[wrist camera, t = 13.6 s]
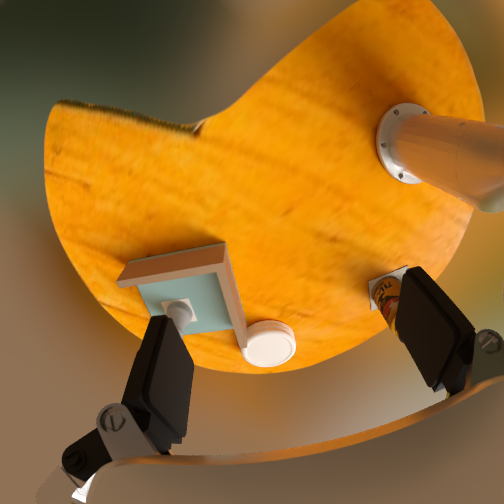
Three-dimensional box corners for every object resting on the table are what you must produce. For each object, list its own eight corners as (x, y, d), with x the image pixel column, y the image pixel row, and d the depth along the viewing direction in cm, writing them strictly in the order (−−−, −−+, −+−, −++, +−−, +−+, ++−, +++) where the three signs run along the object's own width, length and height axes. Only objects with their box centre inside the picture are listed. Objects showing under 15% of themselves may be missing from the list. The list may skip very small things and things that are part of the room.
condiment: (367, 281, 44) (396, 326, 34) (407, 264, 43) (442, 304, 33) (371, 310, 48) (395, 355, 37) (408, 294, 46) (437, 334, 36)
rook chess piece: (194, 303, 43) (187, 337, 36) (192, 322, 45) (185, 357, 38) (167, 298, 43) (156, 332, 36) (167, 318, 45) (157, 352, 38)
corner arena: (225, 242, 40) (223, 262, 34) (246, 322, 47) (247, 347, 42) (129, 260, 40) (115, 281, 35) (163, 333, 48) (156, 356, 42)
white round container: (280, 310, 46) (283, 324, 43) (301, 343, 51) (304, 356, 48) (230, 331, 48) (230, 345, 45) (255, 360, 52) (256, 374, 49)
